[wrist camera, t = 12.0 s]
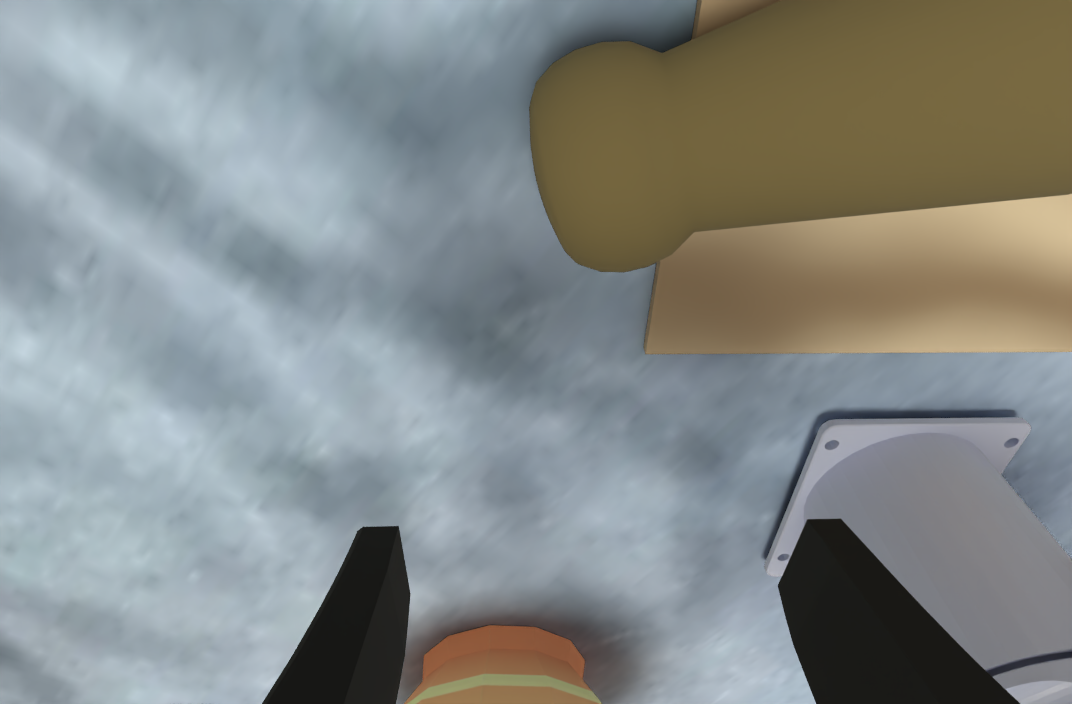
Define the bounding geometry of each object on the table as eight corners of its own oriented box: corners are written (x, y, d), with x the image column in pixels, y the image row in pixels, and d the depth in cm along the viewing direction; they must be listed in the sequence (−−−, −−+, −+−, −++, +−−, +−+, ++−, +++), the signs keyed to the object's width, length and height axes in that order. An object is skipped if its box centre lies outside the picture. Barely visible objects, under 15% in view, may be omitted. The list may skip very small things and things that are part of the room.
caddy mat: (1090, 344, 22) (1101, 353, 22) (643, 347, 22) (646, 355, 21) (1636, -450, 11) (1676, -463, 11) (775, -499, 11) (785, -514, 10)
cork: (994, 198, 16) (582, 287, 19) (968, -51, 15) (536, 79, 18) (1181, 189, 10) (550, 321, 13) (1160, -212, 9) (478, 13, 12)
